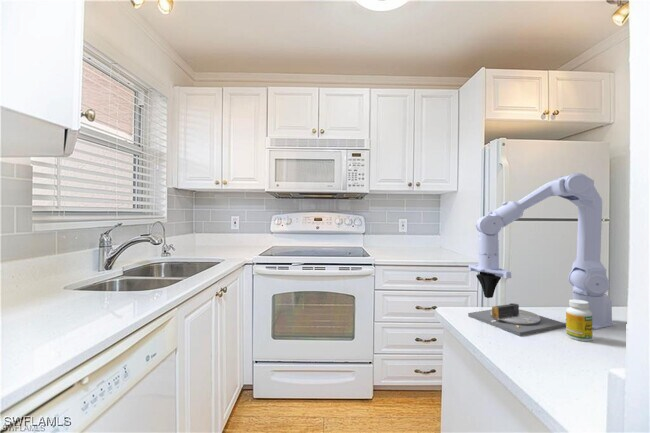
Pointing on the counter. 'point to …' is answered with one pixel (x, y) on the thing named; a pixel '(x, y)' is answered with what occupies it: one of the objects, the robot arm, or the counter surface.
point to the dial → (514, 315)
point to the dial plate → (518, 329)
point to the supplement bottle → (579, 320)
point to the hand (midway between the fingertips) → (488, 297)
